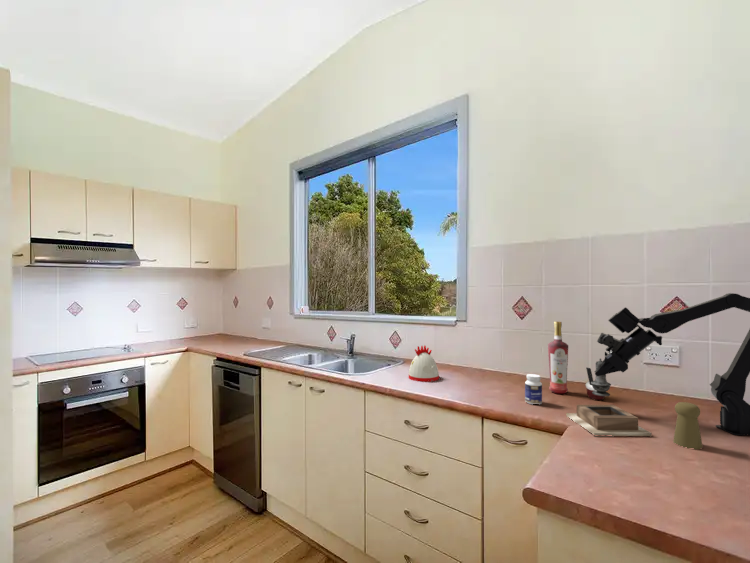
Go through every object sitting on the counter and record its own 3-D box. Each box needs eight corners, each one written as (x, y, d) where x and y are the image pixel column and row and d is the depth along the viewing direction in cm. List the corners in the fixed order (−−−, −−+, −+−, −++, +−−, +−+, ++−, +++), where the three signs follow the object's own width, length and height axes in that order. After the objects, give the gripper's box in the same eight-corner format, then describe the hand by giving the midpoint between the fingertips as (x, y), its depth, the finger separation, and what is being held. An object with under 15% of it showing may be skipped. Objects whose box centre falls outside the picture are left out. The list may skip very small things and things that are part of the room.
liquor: (550, 394, 145) (549, 322, 146) (546, 389, 153) (545, 320, 153) (571, 395, 144) (570, 322, 144) (566, 390, 151) (565, 321, 151)
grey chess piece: (614, 396, 123) (613, 360, 123) (594, 396, 124) (594, 359, 124) (607, 391, 128) (606, 356, 128) (588, 391, 129) (587, 356, 130)
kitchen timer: (404, 375, 177) (403, 344, 177) (430, 373, 181) (430, 342, 181) (416, 383, 164) (415, 348, 164) (444, 380, 168) (443, 347, 168)
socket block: (651, 436, 105) (651, 420, 105) (594, 436, 105) (593, 420, 105) (616, 416, 121) (616, 402, 121) (566, 416, 121) (566, 402, 121)
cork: (673, 437, 104) (673, 398, 104) (702, 443, 100) (701, 402, 100) (673, 445, 99) (672, 403, 99) (703, 451, 96) (702, 408, 96)
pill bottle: (532, 405, 132) (531, 377, 132) (521, 401, 137) (521, 374, 137) (545, 404, 133) (545, 376, 134) (534, 399, 139) (534, 372, 139)
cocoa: (600, 396, 143) (600, 365, 144) (612, 401, 137) (612, 368, 138) (577, 396, 142) (577, 365, 143) (589, 401, 136) (589, 368, 136)
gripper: (612, 322, 132) (578, 351, 138) (614, 328, 116) (574, 360, 122) (640, 346, 128) (603, 375, 134) (645, 355, 112) (603, 387, 118)
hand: (595, 373), depth 127 cm, fingers closed on grey chess piece, 4 cm apart
